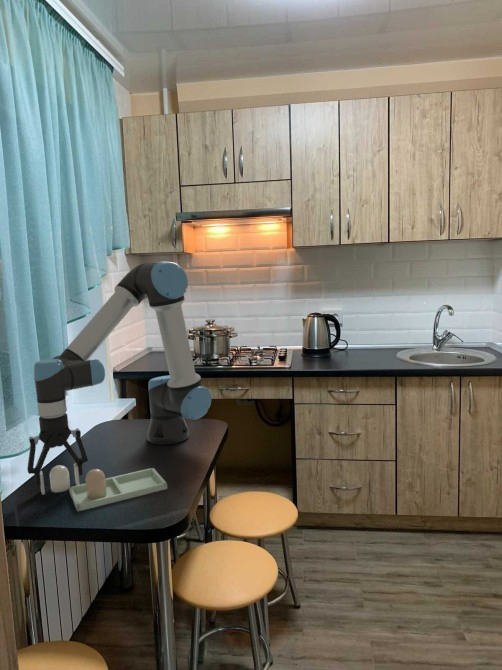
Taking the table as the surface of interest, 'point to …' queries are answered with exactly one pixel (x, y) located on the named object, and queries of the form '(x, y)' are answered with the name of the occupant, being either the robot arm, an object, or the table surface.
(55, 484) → the egg white
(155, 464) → the table surface
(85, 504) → the green divided tray
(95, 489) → the egg brown
